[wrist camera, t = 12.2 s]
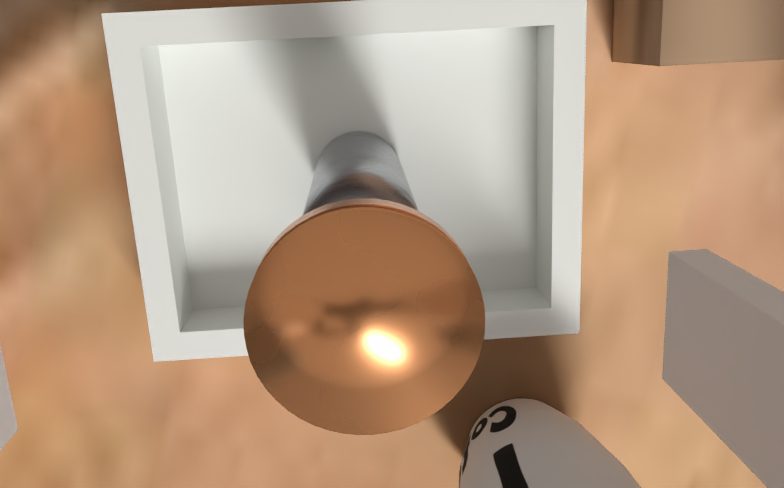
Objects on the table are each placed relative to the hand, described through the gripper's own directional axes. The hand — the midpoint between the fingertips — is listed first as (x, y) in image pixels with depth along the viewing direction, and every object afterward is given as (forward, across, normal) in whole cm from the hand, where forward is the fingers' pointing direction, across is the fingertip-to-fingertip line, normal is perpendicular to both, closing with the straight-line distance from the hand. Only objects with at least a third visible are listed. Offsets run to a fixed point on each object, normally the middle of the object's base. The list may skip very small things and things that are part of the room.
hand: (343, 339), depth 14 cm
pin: (+17, +1, 0) cm, 17 cm away
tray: (+18, +1, 0) cm, 18 cm away
